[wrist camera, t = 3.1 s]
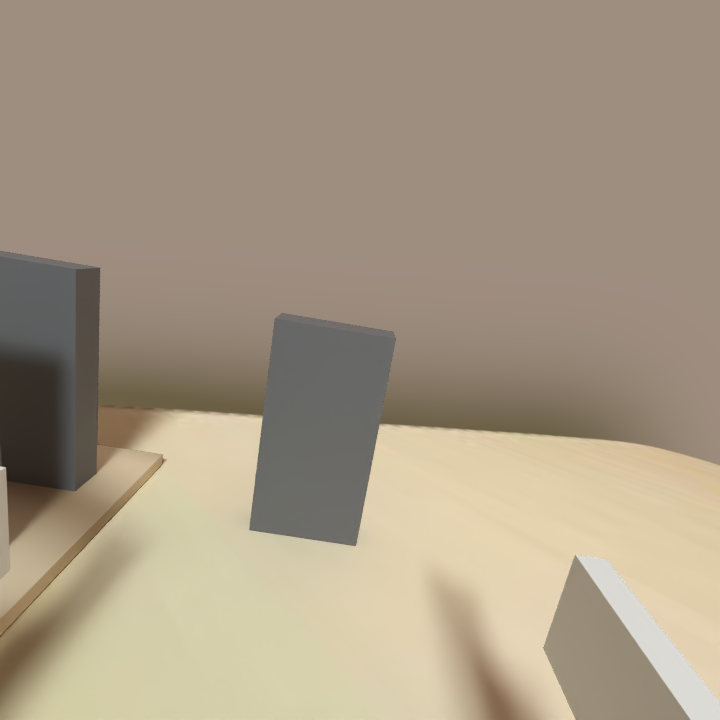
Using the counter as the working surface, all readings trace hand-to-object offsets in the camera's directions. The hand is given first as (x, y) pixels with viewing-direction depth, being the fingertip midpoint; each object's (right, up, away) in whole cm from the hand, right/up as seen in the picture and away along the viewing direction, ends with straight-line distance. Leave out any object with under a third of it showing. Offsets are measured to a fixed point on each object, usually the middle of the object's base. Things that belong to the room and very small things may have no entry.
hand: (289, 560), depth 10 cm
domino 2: (-1, -3, +11) cm, 11 cm away
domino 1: (-14, -1, +10) cm, 17 cm away
